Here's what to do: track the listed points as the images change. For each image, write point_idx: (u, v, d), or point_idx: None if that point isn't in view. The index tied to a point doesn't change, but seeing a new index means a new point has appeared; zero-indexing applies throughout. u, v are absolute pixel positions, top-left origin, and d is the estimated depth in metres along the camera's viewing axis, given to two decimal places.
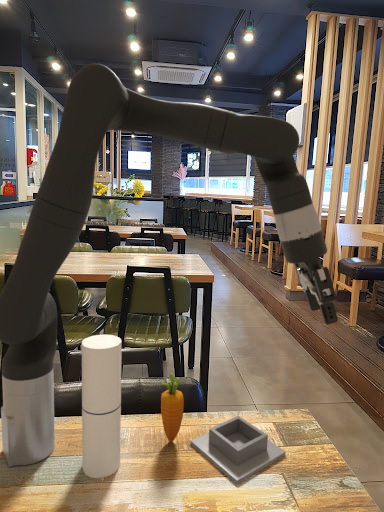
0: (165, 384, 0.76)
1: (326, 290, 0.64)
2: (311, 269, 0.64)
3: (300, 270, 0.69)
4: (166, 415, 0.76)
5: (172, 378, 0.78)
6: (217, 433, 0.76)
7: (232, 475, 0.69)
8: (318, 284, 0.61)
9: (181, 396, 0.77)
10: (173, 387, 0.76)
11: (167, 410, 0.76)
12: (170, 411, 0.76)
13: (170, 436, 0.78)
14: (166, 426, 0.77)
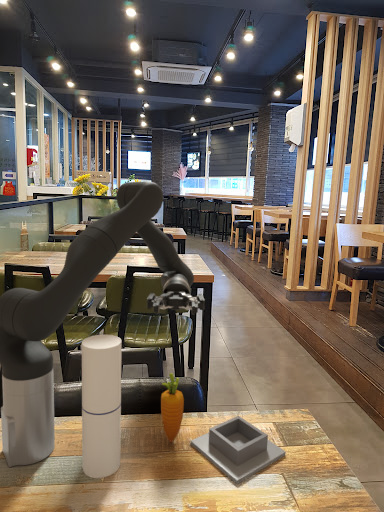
0: (165, 384, 0.76)
1: (191, 306, 0.92)
2: (191, 296, 0.96)
3: None
4: (166, 415, 0.76)
5: (172, 378, 0.78)
6: (217, 433, 0.76)
7: (232, 475, 0.69)
8: (203, 297, 0.94)
9: (181, 396, 0.77)
10: (173, 387, 0.76)
11: (167, 410, 0.76)
12: (170, 411, 0.76)
13: (170, 436, 0.78)
14: (166, 426, 0.77)
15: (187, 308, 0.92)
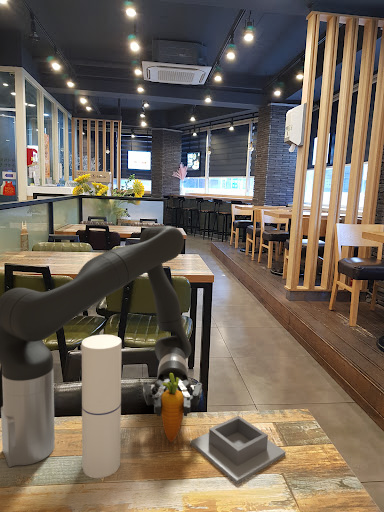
0: (165, 384, 0.76)
1: None
2: None
3: None
4: (166, 415, 0.76)
5: (172, 378, 0.78)
6: (217, 433, 0.76)
7: (232, 475, 0.69)
8: (200, 388, 0.83)
9: (181, 396, 0.77)
10: (173, 387, 0.76)
11: (167, 410, 0.76)
12: (170, 412, 0.76)
13: (170, 436, 0.78)
14: (166, 426, 0.77)
15: None
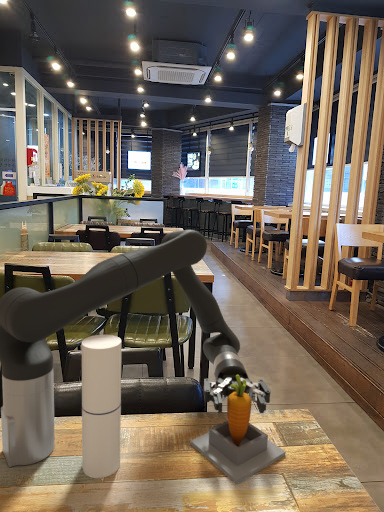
0: (233, 386, 0.75)
1: (254, 397, 0.80)
2: None
3: None
4: (234, 417, 0.75)
5: (239, 380, 0.77)
6: (217, 433, 0.76)
7: (232, 475, 0.69)
8: (266, 385, 0.82)
9: (249, 398, 0.76)
10: (242, 389, 0.74)
11: (235, 413, 0.74)
12: (239, 414, 0.74)
13: (237, 440, 0.76)
14: (233, 429, 0.75)
15: None
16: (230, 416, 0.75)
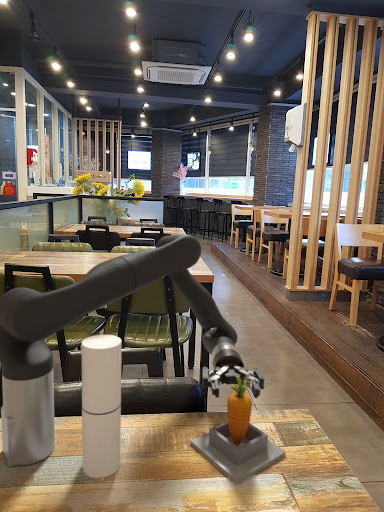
0: (234, 387, 0.74)
1: (250, 384, 0.86)
2: (246, 369, 0.90)
3: None
4: (234, 418, 0.75)
5: (239, 381, 0.76)
6: (217, 433, 0.76)
7: (232, 475, 0.69)
8: (260, 372, 0.88)
9: (249, 399, 0.75)
10: (242, 390, 0.74)
11: (235, 414, 0.74)
12: (239, 415, 0.74)
13: (237, 440, 0.76)
14: (233, 430, 0.75)
15: None
16: (230, 417, 0.75)
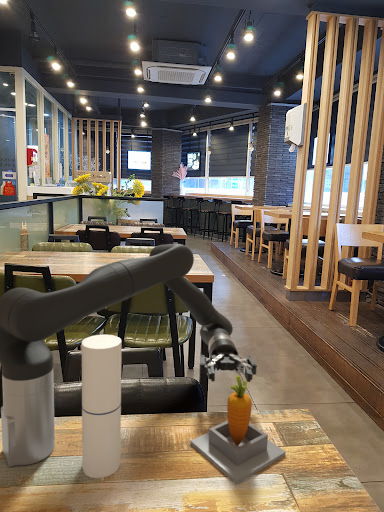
0: (234, 387, 0.74)
1: (243, 370, 0.93)
2: (240, 357, 0.97)
3: None
4: (234, 418, 0.75)
5: (239, 381, 0.76)
6: (217, 433, 0.76)
7: (232, 475, 0.69)
8: (253, 360, 0.95)
9: (249, 399, 0.75)
10: (242, 390, 0.74)
11: (235, 414, 0.74)
12: (239, 415, 0.74)
13: (237, 440, 0.76)
14: (233, 430, 0.75)
15: (239, 372, 0.93)
16: (230, 417, 0.75)
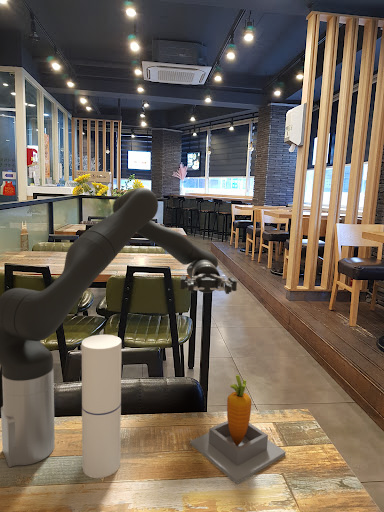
0: (233, 386, 0.75)
1: (223, 287, 0.94)
2: None
3: None
4: (234, 418, 0.75)
5: (239, 380, 0.76)
6: (217, 433, 0.76)
7: (232, 475, 0.69)
8: (234, 279, 0.96)
9: (249, 399, 0.76)
10: (242, 389, 0.74)
11: (235, 413, 0.74)
12: (239, 414, 0.74)
13: (237, 440, 0.76)
14: (233, 429, 0.75)
15: (219, 289, 0.94)
16: (230, 416, 0.75)
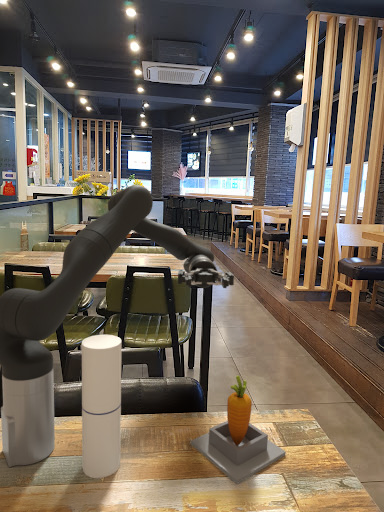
0: (234, 387, 0.74)
1: (221, 281, 0.94)
2: None
3: None
4: (234, 418, 0.75)
5: (239, 381, 0.76)
6: (217, 433, 0.76)
7: (232, 475, 0.69)
8: (231, 273, 0.96)
9: (249, 399, 0.75)
10: (242, 390, 0.74)
11: (235, 414, 0.74)
12: (239, 415, 0.74)
13: (237, 440, 0.76)
14: (233, 430, 0.75)
15: (216, 284, 0.94)
16: (230, 417, 0.75)
